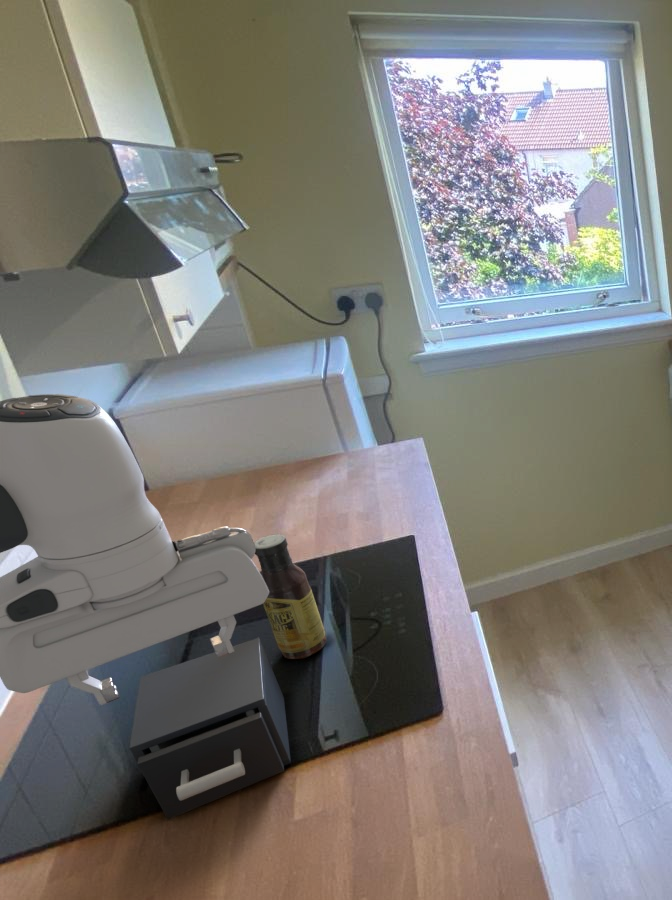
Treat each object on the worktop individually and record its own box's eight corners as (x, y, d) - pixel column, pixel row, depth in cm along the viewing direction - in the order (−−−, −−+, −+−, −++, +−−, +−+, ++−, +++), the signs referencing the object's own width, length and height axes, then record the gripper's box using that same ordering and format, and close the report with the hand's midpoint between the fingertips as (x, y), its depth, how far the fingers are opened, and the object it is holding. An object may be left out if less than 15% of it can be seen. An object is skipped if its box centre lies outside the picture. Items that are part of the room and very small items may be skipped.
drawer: (286, 794, 89) (262, 739, 85) (165, 846, 83) (133, 789, 79) (278, 708, 102) (257, 657, 98) (173, 747, 96) (146, 695, 92)
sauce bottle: (273, 657, 113) (228, 547, 105) (309, 632, 119) (270, 526, 110) (303, 666, 111) (260, 555, 103) (339, 640, 117) (301, 533, 108)
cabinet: (291, 763, 94) (263, 698, 90) (165, 815, 87) (128, 748, 83) (283, 697, 105) (259, 637, 101) (171, 739, 98) (139, 676, 94)
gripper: (238, 509, 78) (279, 615, 84) (-38, 593, 65) (34, 711, 71) (251, 530, 74) (294, 640, 80) (-40, 623, 61) (36, 747, 66)
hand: (169, 674), depth 75 cm, fingers open, 8 cm apart
